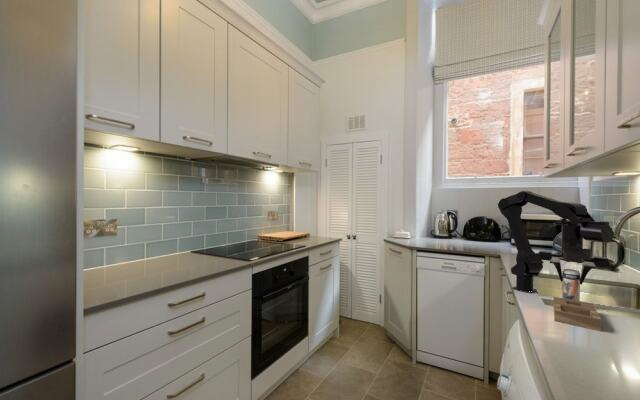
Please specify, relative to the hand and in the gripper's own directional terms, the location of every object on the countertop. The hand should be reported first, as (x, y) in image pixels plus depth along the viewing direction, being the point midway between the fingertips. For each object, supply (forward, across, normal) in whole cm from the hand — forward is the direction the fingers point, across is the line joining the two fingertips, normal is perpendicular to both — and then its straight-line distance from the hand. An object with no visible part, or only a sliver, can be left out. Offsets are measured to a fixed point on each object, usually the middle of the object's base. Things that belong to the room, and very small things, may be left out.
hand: (571, 282), depth 100 cm
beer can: (+8, 0, 0) cm, 8 cm away
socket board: (+8, 0, -14) cm, 16 cm away
